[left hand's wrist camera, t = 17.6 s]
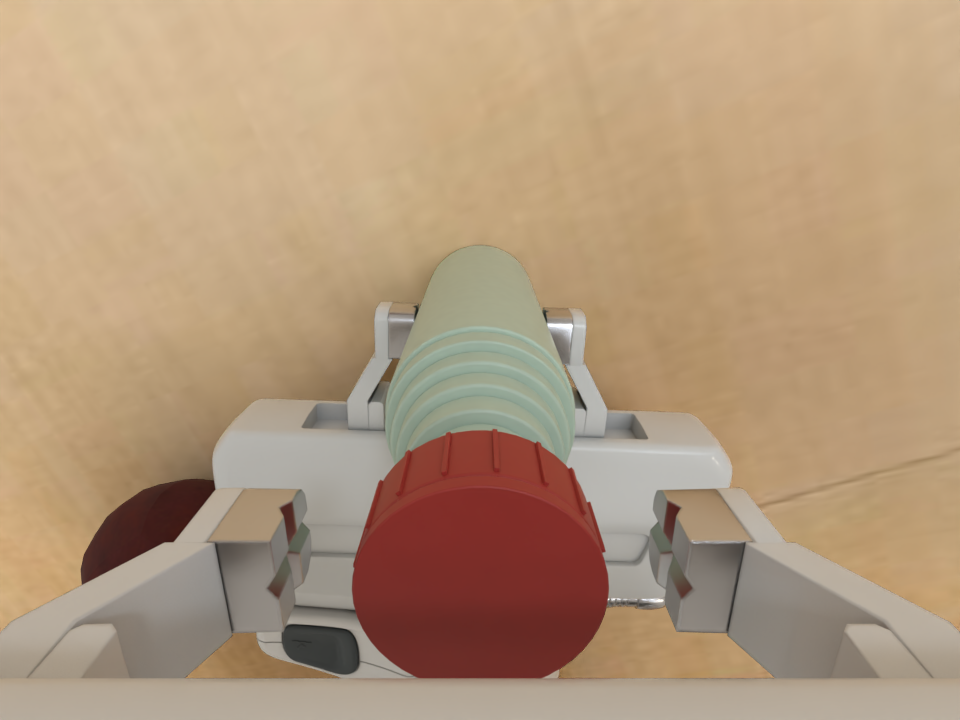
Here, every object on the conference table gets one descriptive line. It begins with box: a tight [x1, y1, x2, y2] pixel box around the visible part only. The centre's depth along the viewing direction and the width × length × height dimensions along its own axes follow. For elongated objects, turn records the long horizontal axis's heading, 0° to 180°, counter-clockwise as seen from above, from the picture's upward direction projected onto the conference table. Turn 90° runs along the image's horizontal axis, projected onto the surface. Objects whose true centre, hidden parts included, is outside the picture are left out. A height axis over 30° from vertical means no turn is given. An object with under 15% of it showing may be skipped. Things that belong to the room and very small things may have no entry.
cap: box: [352, 429, 609, 678], centre depth 9 cm, size 4×4×2 cm
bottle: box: [385, 245, 575, 465], centre depth 18 cm, size 5×5×18 cm
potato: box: [81, 479, 215, 585], centre depth 27 cm, size 7×8×7 cm
